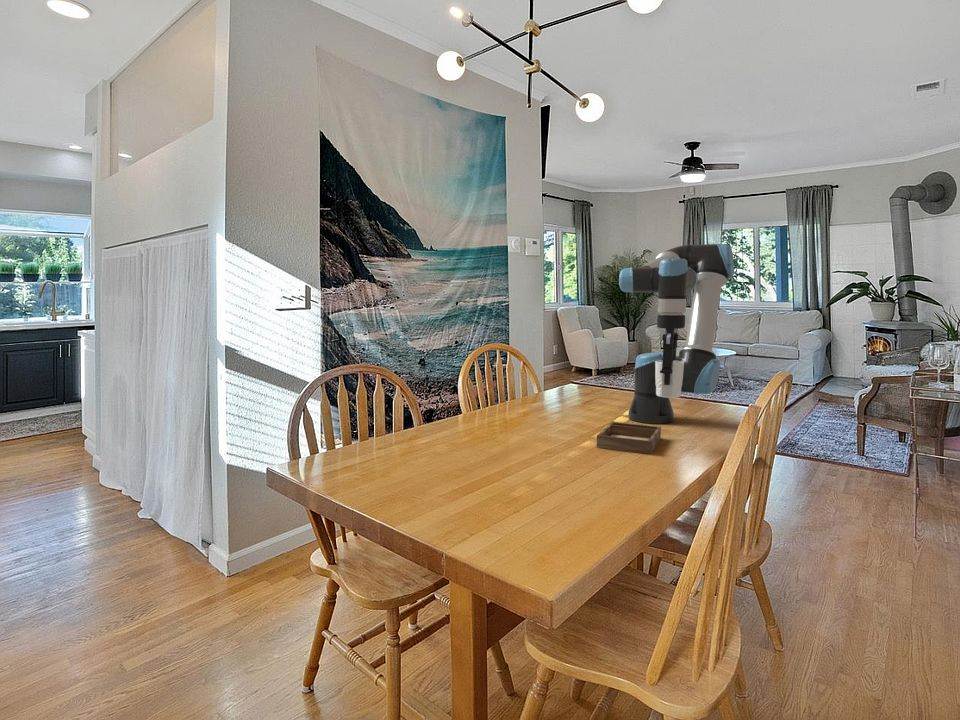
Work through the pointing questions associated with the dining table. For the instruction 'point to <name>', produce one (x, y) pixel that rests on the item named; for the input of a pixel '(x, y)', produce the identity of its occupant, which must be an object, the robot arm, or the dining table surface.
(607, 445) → the walnut caddy
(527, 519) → the dining table surface
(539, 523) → the dining table surface
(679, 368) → the white cup
